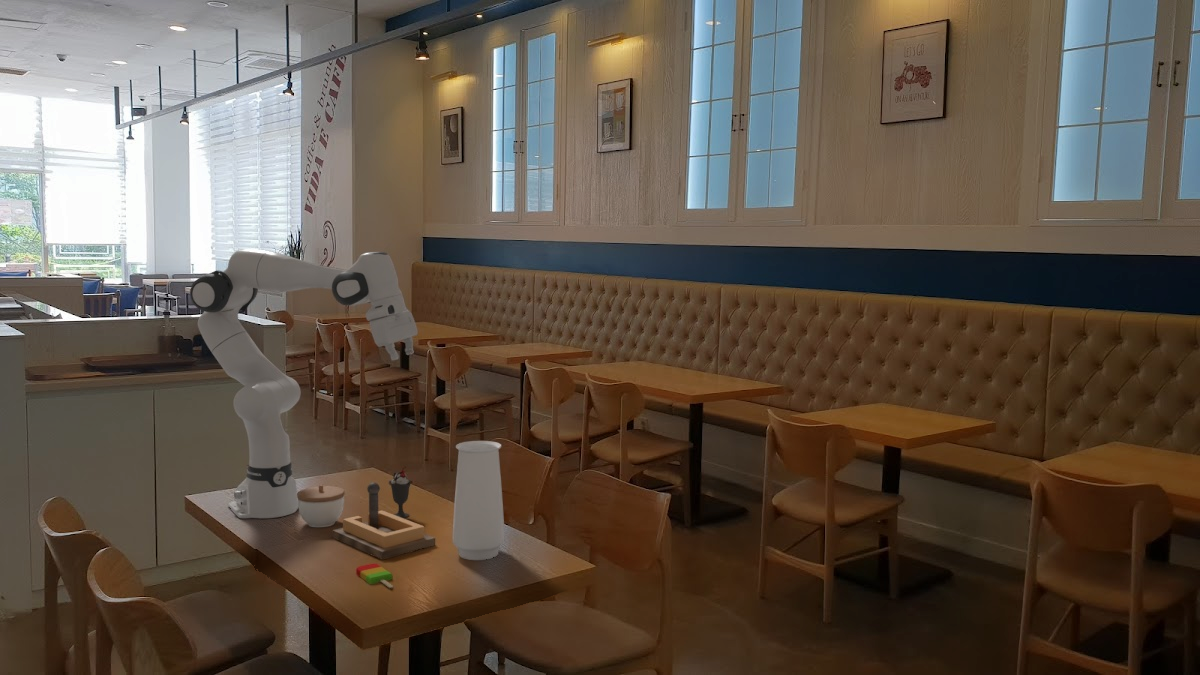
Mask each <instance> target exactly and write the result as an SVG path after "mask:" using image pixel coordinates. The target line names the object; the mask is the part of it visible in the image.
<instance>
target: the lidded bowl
mask: <svg viewBox="0 0 1200 675" xmlns="http://www.w3.org/2000/svg"><path fill="white" fill-rule="evenodd" d="M345 494H346V492H345V489H344V488H343V487H339V486H333V485H324V484H318V486H311V487H306V488H304V489H301V490H299V491H297V498H298V507H299V508H298V511H299V515H300V516H301V519H302V520H303V521H304V522H305V523H306V524H307V525H308V527H311V528H327V527H331V526H333V525H335V524H336V522H337V520H339V519H340V517H341V516H342V513H343V510H344V505H345Z"/></svg>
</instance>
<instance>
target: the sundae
mask: <svg viewBox="0 0 1200 675" xmlns="http://www.w3.org/2000/svg"><path fill="white" fill-rule="evenodd" d="M406 468H407V466H406V465H404V466H403V468H402V469H401V470H400V471H399V472H394V473H393V476H392V477H393V478H392V480H388V485H389V486H391V493H392V499H393V502H394V503H396V504H397V505H398V510H397V513H394V514H393V513H392V514H393V515H396V516H398V517H401V518H403V519H407V518H409V517H410V513H407V512H406V513H405V511H404V508H403V506H404V504H405V503H406V502H407V501H408V498H409V494H410V493H409V492H410V488H411V484H412V483H413V481H412V480H411V479H408V476H407V474H406V473H405V469H406ZM408 516H409V517H408ZM406 517H407V518H406Z"/></svg>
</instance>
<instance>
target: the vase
mask: <svg viewBox="0 0 1200 675" xmlns="http://www.w3.org/2000/svg"><path fill="white" fill-rule="evenodd" d="M501 448H502V444H501V443H499V442H496V441H490V440H471V441H470V440H469V441H468V440H467V441H463V442H459V443H458V444H456V445H455V449H457V450H458V456H457V468H456V479H455V494H454V504H453V505H454V506H453V507H454V508H453V522H452V523H453V524H452V526H453V527H452V543H453V545H454V547H456V548H457V551H458V555H459V557H460V558H462V559H464V560H467V561H485V560H486V559H487V560H490V559H493V557H494V558H495V557H497V556H498V555H499V550H500V547H501V546H502V545H503V544H504V542H505V521H504V519H505V518H504V506H503V491H502V477H501V466H500V465H501V464H500V453H499V450H500V449H501Z"/></svg>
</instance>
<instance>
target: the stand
mask: <svg viewBox="0 0 1200 675" xmlns="http://www.w3.org/2000/svg"><path fill="white" fill-rule="evenodd" d="M380 489H381V487H380V485H379V484H378V483H377V482H370V483H369V484H368V485H367V493H368V513H369V526H371V527H374V528H376V529H378V530H381V531H383V532H386V533H389V532H393V531H396V530H393V529H391V528H388V527H386V526H383V525H381V524H379V518H378V511H379V492H380ZM363 523H364V524H366V525H368V521H365V522H363ZM331 533H332V538H333V539H334V540H337V539H338V540H337V541H339V540H340V541H339V542H341V543H344V544H347V546H348V545H349V546H350V547H353V548H355V549H358V550H359V549H360V551H362V552H364V553H366V552H367V554H368V553H369V554H368V555H371V554H372V555H371V556H373V555H374V556H373V557H375V556H376V557H375V558H377V557H378V559H379V558H380V560H382V559H383V560H386V559H385V558H387V559H390V558H394V557H398V556H401V555H404V553H405V554H407V553H408V552H409V553H411V551H412V552H415V550H416V551H419V550H418V549H420V550H423V549H422V548H424V549H427V548H430V546H431V547H434V545H435V546H436V537H434V536H432V535H429V534H427V533H424V538H422V539H418V540H414V541H410V542H406V543H402V544H399V545H395V546H391V547H387V548H383V547H381V546H378V545H376V544H374V543H372V542H369V541H367V540H365V539H362V538H360V537H358V536H355V535H353V534H351V533H348V532H346V531H344V530H343V527H339V528H336V529H332V530H331ZM400 554H401V555H400ZM397 555H398V556H397ZM393 556H394V557H393ZM389 557H390V558H389Z"/></svg>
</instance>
